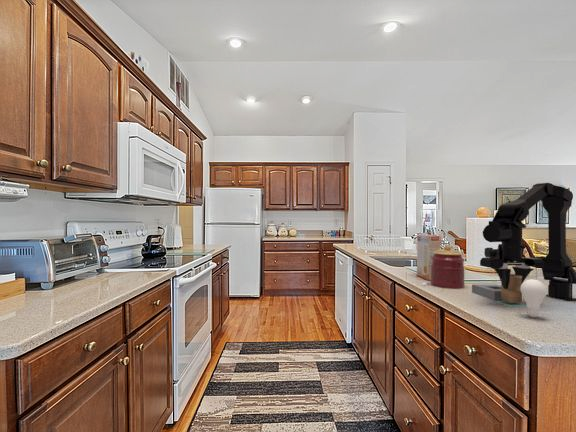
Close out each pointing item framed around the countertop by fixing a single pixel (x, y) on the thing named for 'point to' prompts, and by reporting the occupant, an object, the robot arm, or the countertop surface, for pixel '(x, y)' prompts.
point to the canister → (447, 268)
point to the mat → (511, 304)
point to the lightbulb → (533, 295)
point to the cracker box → (426, 254)
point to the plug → (512, 290)
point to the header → (487, 290)
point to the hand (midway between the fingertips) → (511, 288)
